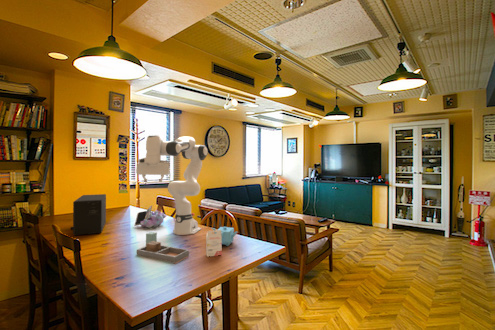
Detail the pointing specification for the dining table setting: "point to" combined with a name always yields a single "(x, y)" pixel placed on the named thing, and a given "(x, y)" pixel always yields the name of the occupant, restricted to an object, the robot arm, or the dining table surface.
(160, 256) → the tray
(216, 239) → the ink cartridge box
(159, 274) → the dining table surface
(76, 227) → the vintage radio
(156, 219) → the purple rock
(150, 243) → the walnut block
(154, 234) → the slate block
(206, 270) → the dining table surface
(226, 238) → the teapot
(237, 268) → the dining table surface
